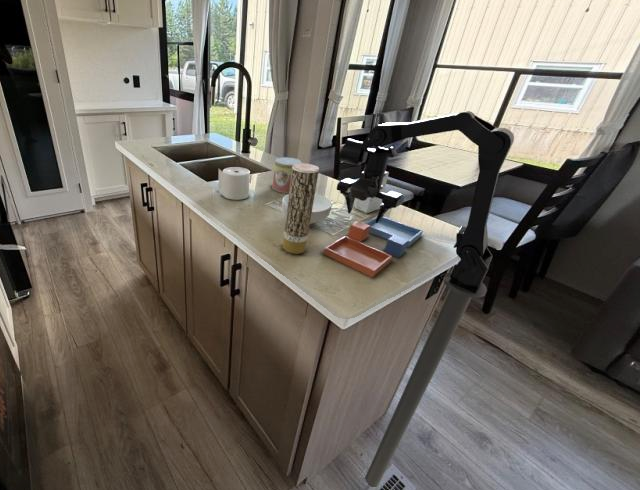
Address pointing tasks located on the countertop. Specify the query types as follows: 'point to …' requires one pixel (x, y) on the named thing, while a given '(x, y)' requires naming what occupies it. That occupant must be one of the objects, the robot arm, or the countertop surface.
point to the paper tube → (300, 207)
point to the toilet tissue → (234, 183)
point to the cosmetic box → (371, 200)
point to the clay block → (359, 231)
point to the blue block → (396, 246)
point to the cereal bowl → (314, 208)
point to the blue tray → (393, 229)
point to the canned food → (283, 173)
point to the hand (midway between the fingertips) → (362, 217)
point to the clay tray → (358, 255)
